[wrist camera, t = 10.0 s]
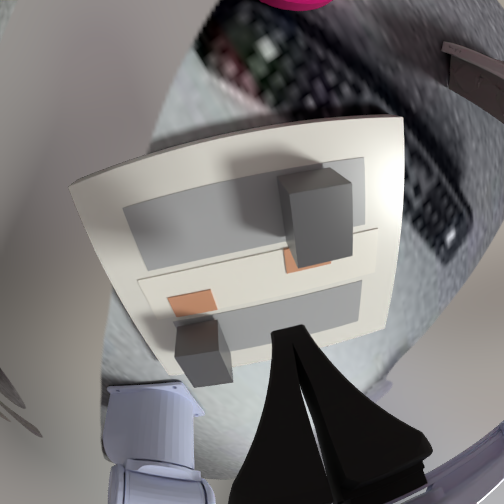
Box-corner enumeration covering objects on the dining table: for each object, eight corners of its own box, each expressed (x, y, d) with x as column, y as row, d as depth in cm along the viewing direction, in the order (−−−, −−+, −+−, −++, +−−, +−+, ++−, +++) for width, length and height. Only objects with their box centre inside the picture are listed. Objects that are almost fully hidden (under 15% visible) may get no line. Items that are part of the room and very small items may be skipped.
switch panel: (170, 362, 24) (169, 377, 23) (78, 179, 14) (66, 188, 13) (378, 317, 24) (385, 329, 23) (389, 114, 15) (404, 117, 13)
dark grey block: (194, 359, 21) (194, 387, 19) (177, 326, 19) (174, 357, 17) (230, 353, 21) (233, 382, 19) (217, 319, 19) (218, 350, 17)
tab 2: (285, 241, 16) (297, 268, 14) (276, 176, 14) (289, 194, 12) (333, 231, 16) (352, 255, 14) (330, 167, 14) (352, 183, 12)
